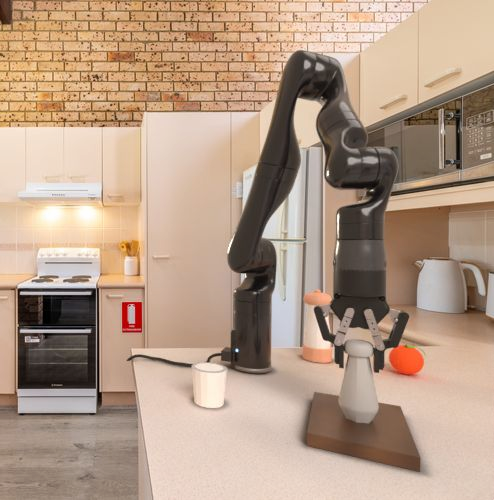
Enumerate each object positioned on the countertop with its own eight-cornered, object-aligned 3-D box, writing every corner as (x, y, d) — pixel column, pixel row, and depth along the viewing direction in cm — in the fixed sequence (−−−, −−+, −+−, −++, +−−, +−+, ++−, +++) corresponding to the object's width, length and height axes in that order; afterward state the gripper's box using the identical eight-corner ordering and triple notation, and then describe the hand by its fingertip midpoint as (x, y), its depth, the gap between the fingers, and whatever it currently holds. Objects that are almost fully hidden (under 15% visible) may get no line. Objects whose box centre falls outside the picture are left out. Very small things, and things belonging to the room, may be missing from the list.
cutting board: (306, 445, 60) (306, 432, 60) (314, 401, 78) (314, 391, 78) (420, 471, 53) (420, 457, 53) (400, 417, 71) (400, 406, 71)
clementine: (416, 370, 98) (416, 342, 98) (435, 379, 91) (436, 349, 91) (382, 369, 99) (382, 341, 99) (399, 378, 92) (399, 348, 92)
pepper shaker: (320, 364, 103) (321, 291, 103) (296, 357, 109) (297, 288, 109) (337, 360, 106) (338, 290, 106) (313, 354, 113) (314, 287, 112)
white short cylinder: (227, 398, 79) (228, 363, 79) (225, 411, 72) (226, 374, 72) (193, 393, 81) (194, 360, 81) (188, 406, 75) (188, 369, 75)
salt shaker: (385, 427, 62) (386, 345, 62) (345, 424, 63) (346, 344, 63) (369, 412, 68) (370, 337, 68) (333, 409, 69) (334, 335, 69)
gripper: (408, 267, 65) (407, 370, 65) (312, 265, 72) (312, 357, 72) (416, 269, 59) (415, 383, 59) (310, 266, 66) (309, 368, 66)
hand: (358, 368), depth 65 cm, fingers closed on salt shaker, 4 cm apart
